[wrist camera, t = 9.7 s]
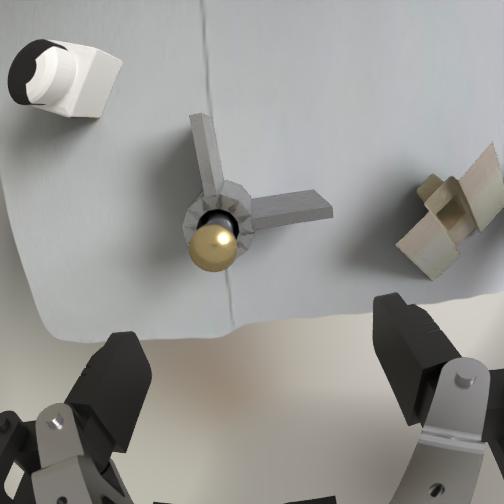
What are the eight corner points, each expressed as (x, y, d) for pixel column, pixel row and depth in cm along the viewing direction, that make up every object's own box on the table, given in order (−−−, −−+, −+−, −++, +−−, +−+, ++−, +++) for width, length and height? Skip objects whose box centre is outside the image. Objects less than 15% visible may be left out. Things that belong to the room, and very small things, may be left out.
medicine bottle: (56, 104, 29) (-10, 103, 18) (77, 50, 27) (17, 29, 16) (101, 119, 30) (40, 118, 19) (124, 61, 28) (71, 36, 17)
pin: (238, 190, 33) (232, 223, 22) (243, 220, 35) (240, 268, 23) (207, 195, 34) (184, 231, 22) (213, 225, 35) (195, 275, 23)
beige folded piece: (469, 159, 36) (460, 105, 24) (510, 201, 31) (523, 159, 20) (396, 235, 42) (361, 211, 31) (432, 281, 38) (413, 276, 27)
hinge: (301, 104, 30) (317, 95, 23) (317, 220, 35) (335, 244, 27) (180, 124, 31) (159, 122, 23) (203, 238, 35) (191, 267, 28)
